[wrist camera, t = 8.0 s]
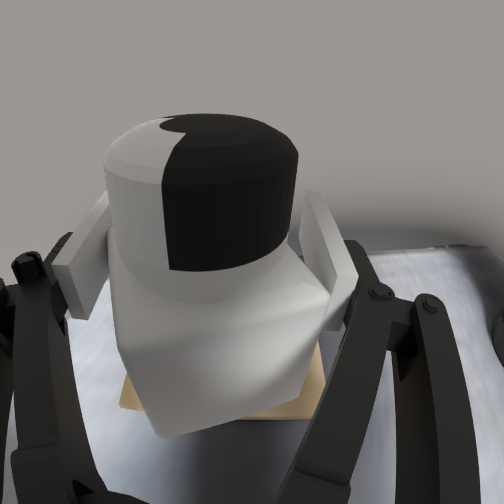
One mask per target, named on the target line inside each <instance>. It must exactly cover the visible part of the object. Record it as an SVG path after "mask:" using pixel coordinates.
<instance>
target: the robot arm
mask: <svg viewBox="0 0 504 504" xmlns="http://www.w3.org/2000/svg"><path fill="white" fill-rule="evenodd" d="M112 226H113V223H112V217H111V212H110V206H109V199H108V193H107V190H106V191H105V192H104V193H103V195H102V196H101V197H100V199H99V200H98V201H97V202H96V204H95V205H94V206H93V207H92V209H91V210H90V211H89V213H88V214H87V215H86V216H85V218H84V219H83V220H82V222H81V223H80V224H79V226H78V227H77V228H76V230H75V231H74V232H68V233H67V234H65V235H64V236H63V237H61V238H60V239H59V241H58V242H57V243H56V245H55V247H53V249H52V250H51V252H50V253H49V255H48V256H47V257H46V259H45V260H44V261H42V259H41V256H40V254H39V253H38V252H35V251H30V252H26V253H23V254H21V255H20V256H18V257H17V258H16V259H15V260H14V261H13V262H12V265H11V267H12V269H13V272H14V274H15V277H16V279H17V281H18V284H14V285H9V286H5V283H4V281H3V279H2V278H0V504H2V498H3V481H4V460H5V447H6V437H7V428H8V420H9V413H10V407H11V400H12V395H13V391H14V409H15V421H16V431H17V439H18V448H17V450H15V451H13V452H12V454H11V468H12V474H13V480H14V485H15V490H16V495H17V499H18V504H149V503H146V502H144V501H142V500H139V499H137V498H135V497H132V496H130V495H125V494H121V493H116V492H111V491H108V490H107V488H106V486H105V484H104V482H103V480H102V479H101V477H100V475H99V474H98V472H97V469H96V466H95V463H94V460H93V456H92V453H91V449H90V446H89V442H88V438H87V434H86V430H85V426H84V422H83V418H82V413H81V408H80V404H79V399H78V394H77V388H76V383H75V377H74V371H73V365H72V358H71V351H70V343H69V335H68V325H67V321H66V318H65V316H64V315H65V313H66V311H67V309H68V310H69V312H70V314H71V317H72V318H74V319H82V320H88V319H89V317H90V314H91V312H92V310H93V307H94V305H95V303H96V301H97V298H98V296H99V294H100V292H101V289H102V287H103V285H104V283H105V281H106V279H107V276H108V274H109V263H108V245H107V232H108V230H109V228H110V227H112ZM298 237H299V241H300V245H301V249H302V253H303V257H304V261H305V265H306V266H307V267H308V268H309V270H310V271H311V272H312V273H313V274H314V276H315V277H316V278H317V279H318V280H319V281H320V283H321V284H322V285H323V286H324V287H325V289H326V290H327V291H328V292H329V294H330V303H329V306H328V310H327V313H326V316H325V319H324V323H323V326H322V329H321V331H340V329H341V326H342V323H343V321H344V324H345V327H346V331H345V333H344V336H343V338H342V341H341V343H340V346H339V348H338V349H339V350H338V353H337V356H336V358H335V361H334V364H333V367H332V369H331V372H330V375H329V377H328V380H327V382H326V385H325V387H324V390H323V393H322V395H321V397H320V400H319V402H318V405H317V407H316V410H315V412H314V414H313V417H312V419H311V422H310V424H309V426H308V428H307V431H306V433H305V435H304V437H303V440H302V442H301V444H300V446H299V448H298V451H297V453H296V455H295V457H294V459H293V461H292V463H291V465H290V467H289V470H288V472H287V474H286V476H285V478H284V480H283V482H282V484H281V486H280V487H279V489H278V491H277V493H276V495H275V496H274V498H273V500H272V502H271V504H347V503H348V500H349V497H350V492H351V487H350V479H351V476H352V473H353V470H354V467H355V465H356V462H357V459H358V456H359V453H360V450H361V447H362V443H363V440H364V437H365V434H366V430H367V427H368V424H369V420H370V417H371V413H372V409H373V406H374V402H375V398H376V394H377V390H378V386H379V382H380V378H381V373H382V369H383V364H384V360H385V355H386V350H388V351H391V356H392V367H393V379H394V394H395V413H396V493H395V504H481V494H480V477H479V465H478V455H477V446H476V439H475V431H474V425H473V418H472V413H471V407H470V401H469V396H468V391H467V386H466V382H465V377H464V373H463V369H462V364H461V360H460V356H459V352H458V348H457V345H456V341H455V337H454V334H453V330H452V327H451V323H450V320H449V317H448V314H447V310H446V307H445V306H444V304H443V302H442V301H441V300H440V299H439V298H437V297H435V296H434V295H431V294H420V295H418V296H417V297H416V299H415V301H414V302H411V301H407V300H403V299H399V298H396V297H395V294H394V292H393V290H392V289H391V288H390V287H388V286H387V285H385V284H383V283H381V282H380V281H379V279H378V277H377V275H376V273H375V271H374V269H373V267H372V264H371V263H370V260H369V258H368V257H367V254H366V252H365V251H364V248H363V247H362V246H361V245H360V244H359V243H358V242H356V241H354V240H343V239H342V237H341V234H340V232H339V230H338V228H337V225H336V223H335V221H334V219H333V217H332V215H331V213H330V210H329V208H328V206H327V204H326V202H325V200H324V198H323V196H322V194H321V191H314V190H313V191H312V190H305V196H304V203H303V210H302V217H301V223H300V229H299V235H298ZM492 336H493V342H494V346H495V349H496V352H497V354H498V356H499V358H500V360H501V362H502V364H503V365H504V308H503V309H502V311H501V312H500V314H499V315H498V317H497V319H496V320H495V322H494V324H493V329H492Z"/></svg>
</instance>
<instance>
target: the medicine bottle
mask: <svg viewBox="0 0 504 504" xmlns="http://www.w3.org/2000/svg"><path fill="white" fill-rule="evenodd" d="M103 164H104V172H105V179H106V186H107V193H108V199H109V206H110V212H111V217H112V223H113V226H112V227H110V228H109V230H108V232H107V245H108V263H109V277H110V289H111V300H112V310H113V318H114V326H115V334H116V341H117V348H118V351H119V354H120V356H121V359H122V361H123V363H124V366H125V368H126V371H127V373H128V375H129V378H130V380H131V382H132V385H133V387H134V389H135V391H136V394H137V396H138V398H139V400H140V402H141V404H142V407H143V409H144V411H145V413H146V415H147V417H148V419H149V421H150V423H151V425H152V427H153V429H154V431H155V433H156V434H157V436H159V437H160V438H170V437H174V436H178V435H182V434H187V433H190V432H194V431H198V430H202V429H206V428H209V427H213V426H216V425H220V424H223V423H226V422H230V421H233V420H236V419H239V418H243V417H246V416H249V415H252V414H255V413H258V412H261V411H264V410H267V409H269V408H272V407H275V406H278V405H281V404H283V403H286V402H289V401H291V400H294V399H296V398H297V397H298V396H299V394H300V391H301V388H302V385H303V383H304V380H305V377H306V374H307V371H308V368H309V365H310V363H311V360H312V357H313V354H314V351H315V348H316V345H317V342H318V338H319V335H320V332H321V329H322V326H323V323H324V319H325V316H326V313H327V310H328V306H329V303H330V294H329V292H328V291H327V290H326V289H325V287H324V286H323V285H322V284H321V283H320V281H319V280H318V279H317V278H316V277H315V276H314V274H313V273H312V272H311V271H310V270H309V268H308V267H307V266H306V265H305V264H304V263H303V261H302V260H301V259H300V258H299V257H298V256H297V254H296V253H295V252H294V251H293V250H292V249H291V248H290V246H289V245H288V244H287V240H288V233H289V226H290V219H291V212H292V204H293V197H294V189H295V181H296V173H297V165H298V151H297V150H296V148H295V146H294V145H293V143H292V142H291V140H290V139H289V138H288V137H287V136H286V135H284V134H283V133H281V132H279V131H278V130H276V129H274V128H272V127H271V126H269V125H267V124H265V123H263V122H260V121H258V120H254V119H251V118H246V117H241V116H235V115H225V114H187V115H186V114H185V115H176V116H169V117H163V118H158V119H155V120H151V121H148V122H145V123H142V124H140V125H138V126H136V127H134V128H132V129H131V130H129V131H128V132H126V133H124V134H123V135H121V136H120V137H119V138H117V139H116V140H114V141H113V142H112V144H111V146H110V147H109V149H108V151H107V152H106V154H105V155H104V158H103Z"/></svg>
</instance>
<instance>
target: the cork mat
mask: <svg viewBox="0 0 504 504" xmlns="http://www.w3.org/2000/svg"><path fill="white" fill-rule="evenodd" d="M325 385H326V383H325V377H324V371H323V366H322V360H321V354H320V349H319V343H318V342H317V345H316V348H315V351H314V354H313V357H312V360H311V363H310V365H309V368H308V371H307V374H306V377H305V380H304V383H303V385H302V388H301V391H300V394H299V396H298V397H297V398H296V399H294V400H291V401H289V402H286V403H283V404H281V405H278V406H275V407H272V408H269V409H267V410H264V411H261V412H258V413H255V414H252V415H249V416H246V417H243V418H239V419H241V420H296V419H312V417H313V414H314V412H315V410H316V407H317V405H318V402H319V400H320V397H321V395H322V393H323V390H324V387H325ZM119 405H120V407H122V408H128V409H134V410H140V411H144V409H143V407H142V404H141V402H140V400H139V398H138V396H137V394H136V391H135V389H134V387H133V385H132V382H131V380H130V378H129V375H128V373H127V375H126V378H125V382H124V386H123V390H122V394H121V397H120V401H119Z"/></svg>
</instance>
